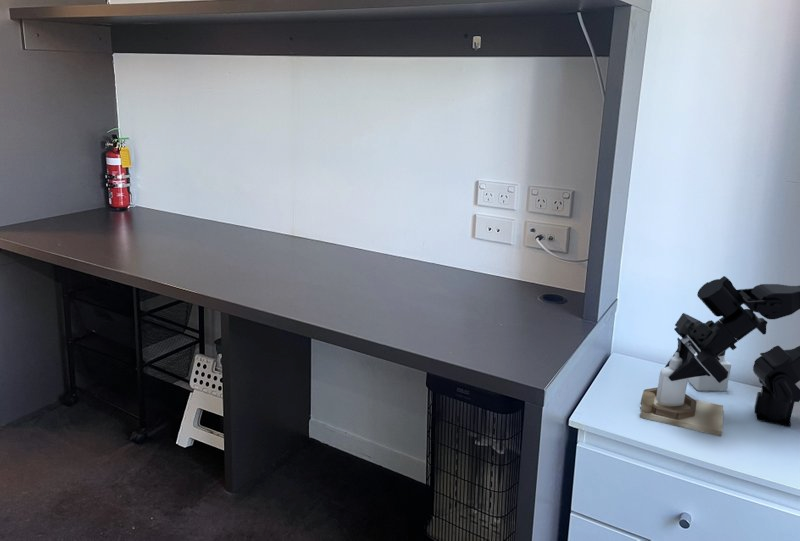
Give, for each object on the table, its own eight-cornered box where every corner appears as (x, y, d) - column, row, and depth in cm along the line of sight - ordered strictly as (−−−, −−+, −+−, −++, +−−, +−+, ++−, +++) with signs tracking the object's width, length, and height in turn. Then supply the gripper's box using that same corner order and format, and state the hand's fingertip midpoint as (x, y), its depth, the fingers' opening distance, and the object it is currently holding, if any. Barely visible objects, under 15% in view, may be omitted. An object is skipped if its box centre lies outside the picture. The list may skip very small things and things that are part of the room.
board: (722, 410, 147) (726, 389, 146) (721, 436, 137) (725, 414, 135) (644, 393, 154) (647, 373, 152) (637, 416, 144) (640, 395, 142)
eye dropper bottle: (681, 410, 143) (689, 359, 139) (654, 403, 146) (661, 353, 142) (684, 402, 146) (693, 352, 143) (658, 395, 149) (665, 346, 145)
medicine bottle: (712, 377, 163) (720, 332, 159) (726, 391, 156) (736, 344, 152) (683, 377, 162) (691, 332, 159) (697, 391, 156) (705, 344, 152)
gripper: (689, 289, 147) (632, 333, 152) (721, 320, 130) (655, 369, 134) (720, 323, 149) (663, 366, 153) (755, 359, 131) (690, 406, 136)
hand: (667, 375), depth 144 cm, fingers closed on eye dropper bottle, 3 cm apart
